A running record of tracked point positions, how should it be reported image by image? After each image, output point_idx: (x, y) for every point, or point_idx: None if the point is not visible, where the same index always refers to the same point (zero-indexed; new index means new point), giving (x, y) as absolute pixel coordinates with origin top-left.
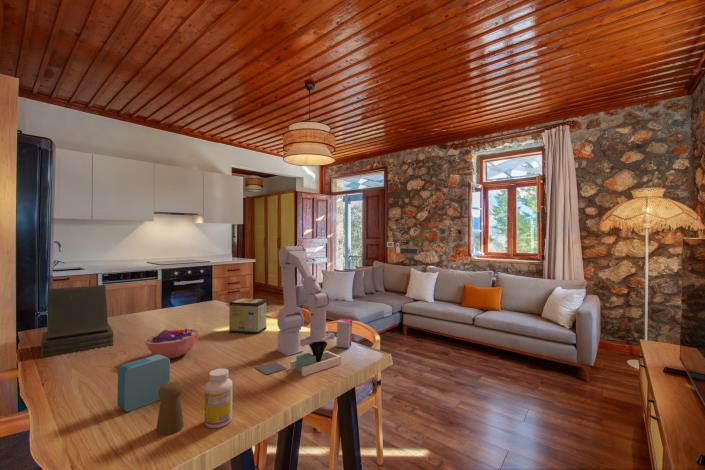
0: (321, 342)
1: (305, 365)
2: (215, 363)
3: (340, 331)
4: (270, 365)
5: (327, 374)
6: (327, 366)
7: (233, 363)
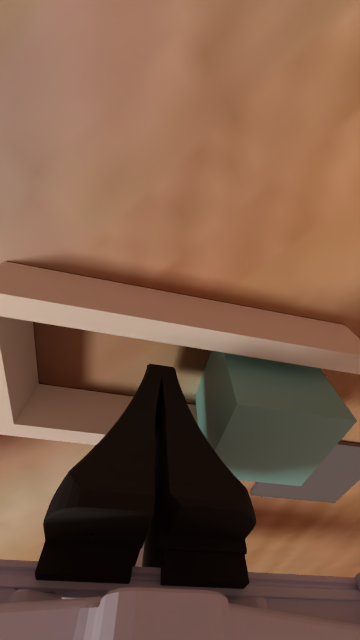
0: (116, 545)
1: (318, 379)
2: (340, 562)
3: None
4: (293, 487)
5: (240, 213)
6: (147, 294)
7: (320, 545)
